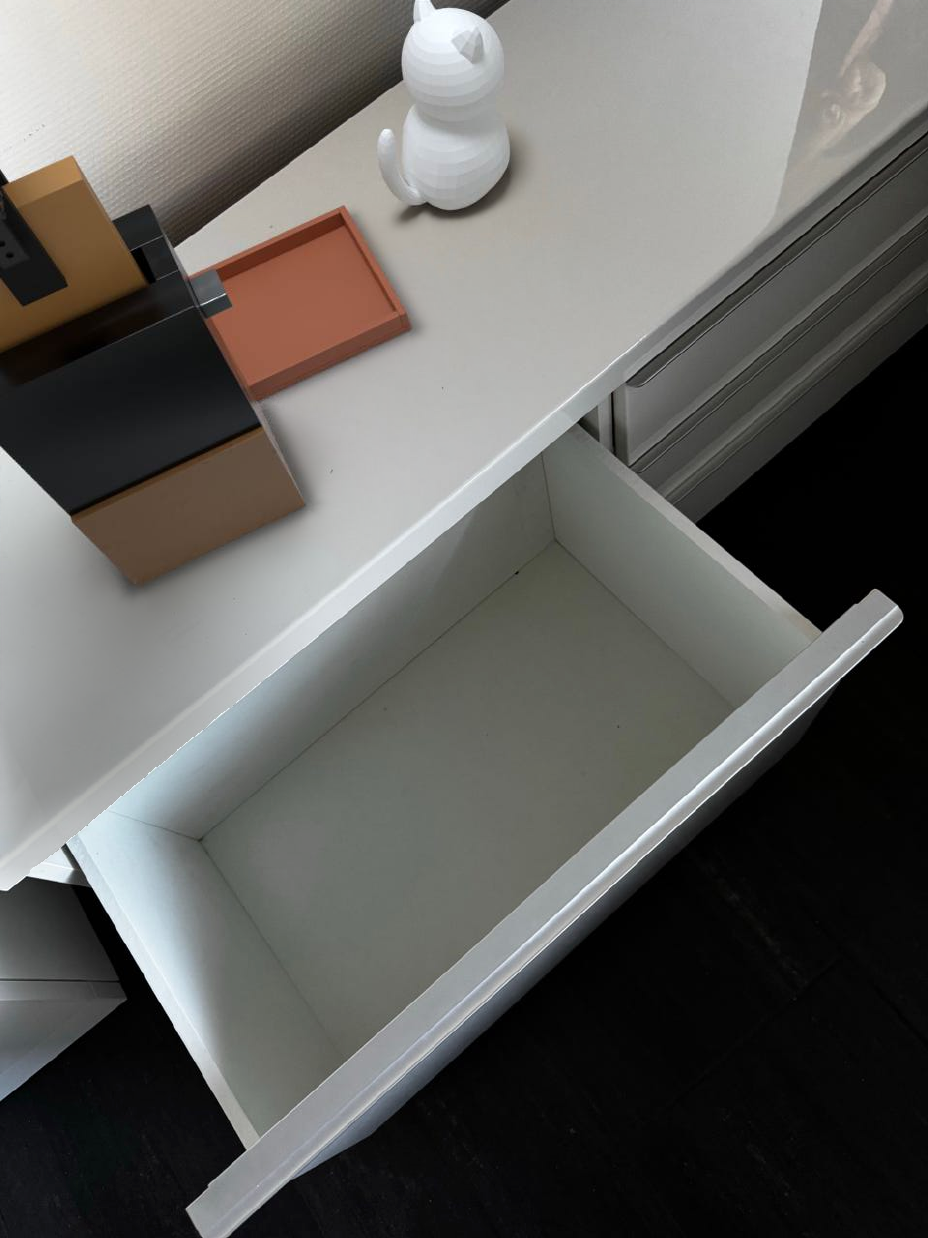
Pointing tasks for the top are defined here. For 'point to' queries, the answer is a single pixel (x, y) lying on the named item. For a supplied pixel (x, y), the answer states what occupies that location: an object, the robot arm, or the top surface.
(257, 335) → the tray
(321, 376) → the top surface
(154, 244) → the toaster
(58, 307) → the toast
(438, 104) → the cat figurine
